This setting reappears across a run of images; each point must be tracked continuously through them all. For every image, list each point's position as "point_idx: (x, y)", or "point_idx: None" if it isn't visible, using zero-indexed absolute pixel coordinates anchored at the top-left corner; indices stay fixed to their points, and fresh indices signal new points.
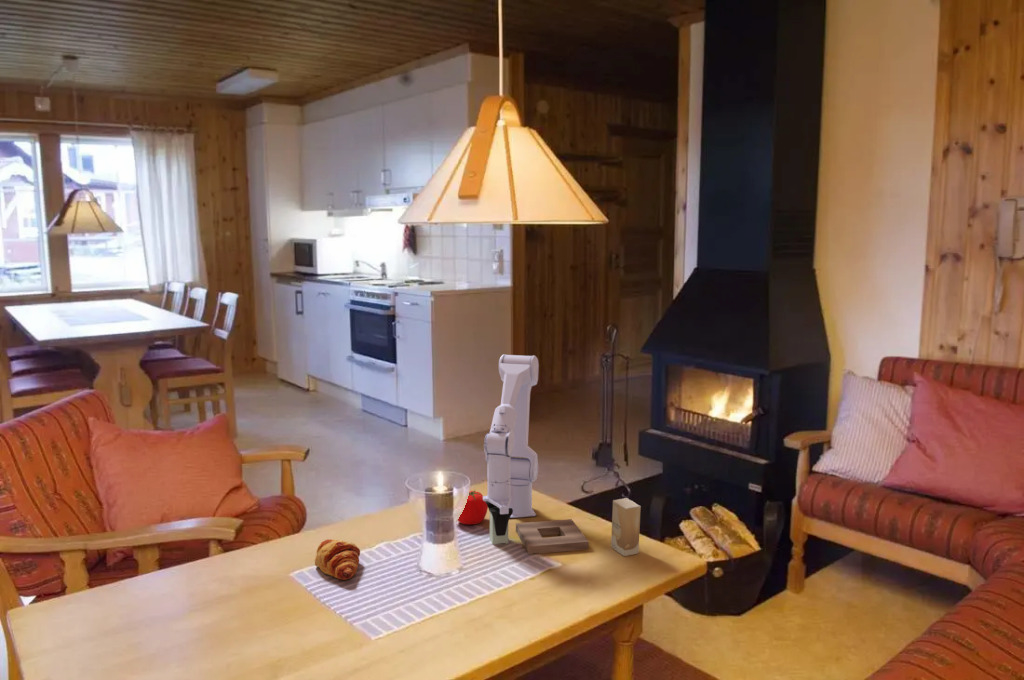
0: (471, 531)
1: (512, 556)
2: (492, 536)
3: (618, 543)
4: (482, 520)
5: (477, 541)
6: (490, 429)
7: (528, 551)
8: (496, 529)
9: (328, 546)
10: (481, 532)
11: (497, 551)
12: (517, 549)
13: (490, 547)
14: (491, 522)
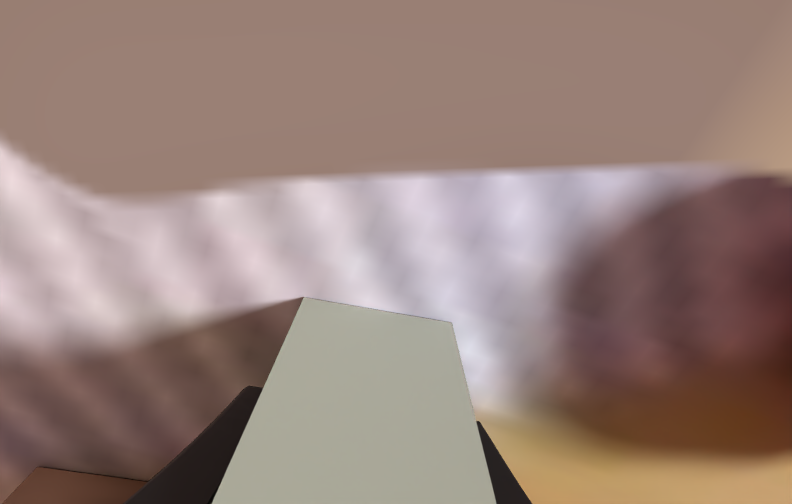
0: (702, 226)
1: (11, 356)
2: (286, 342)
3: None
4: None
5: (433, 194)
6: None
7: (31, 485)
8: (194, 443)
9: None
10: (619, 304)
11: (140, 284)
12: (150, 432)
13: (247, 258)
14: (323, 476)
